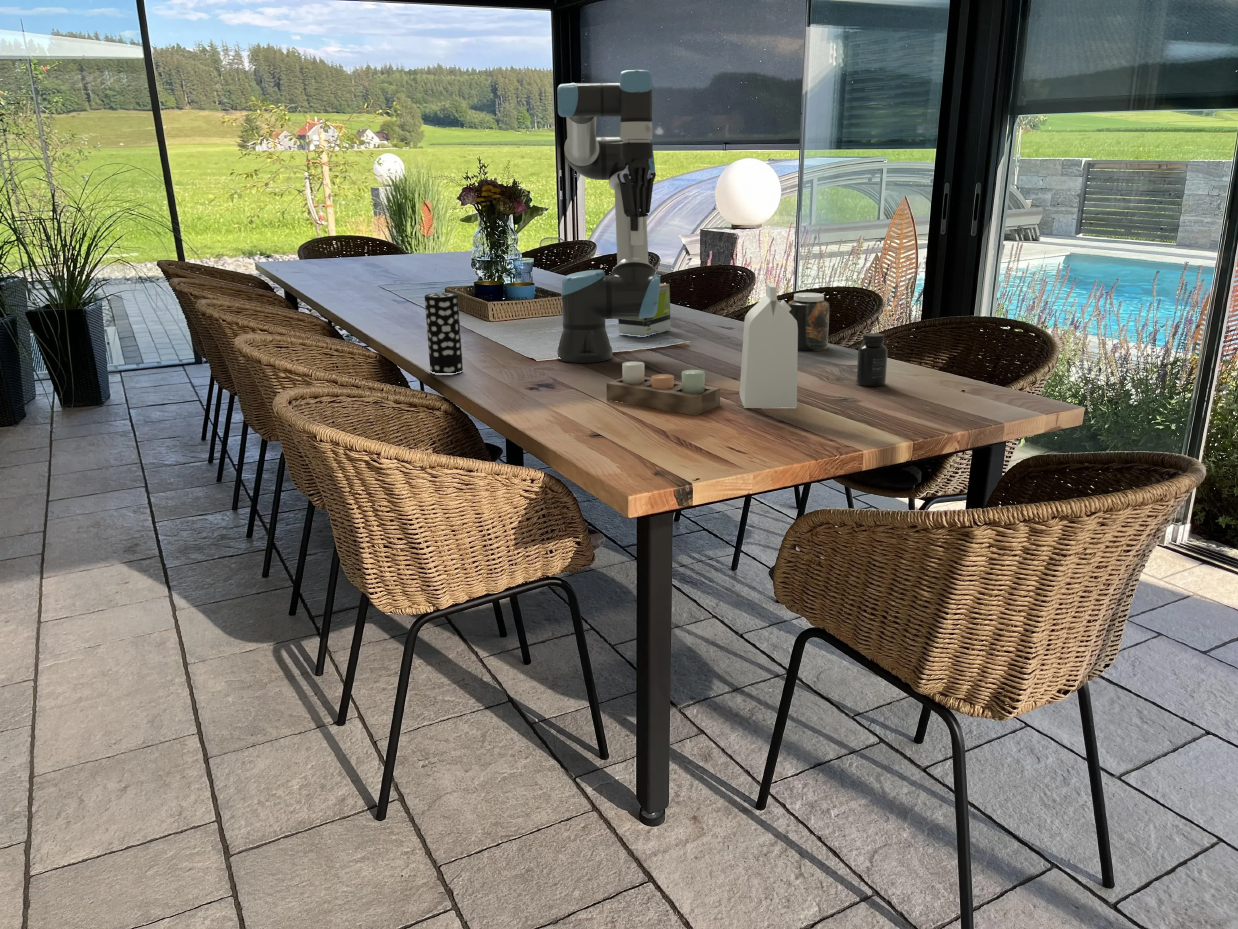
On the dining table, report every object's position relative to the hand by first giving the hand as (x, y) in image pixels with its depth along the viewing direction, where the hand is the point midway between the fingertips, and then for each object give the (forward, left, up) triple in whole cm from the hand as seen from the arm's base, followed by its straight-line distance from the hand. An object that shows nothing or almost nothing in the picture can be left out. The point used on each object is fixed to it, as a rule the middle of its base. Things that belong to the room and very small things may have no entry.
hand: (637, 244), depth 228 cm
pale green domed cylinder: (+28, -19, -29) cm, 45 cm away
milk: (+39, -5, -33) cm, 51 cm away
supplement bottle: (+52, +23, -33) cm, 66 cm away
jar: (+20, +55, -33) cm, 67 cm away
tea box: (-32, +49, -33) cm, 67 cm away
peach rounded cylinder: (+20, -19, -31) cm, 42 cm away
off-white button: (+12, -19, -29) cm, 37 cm away
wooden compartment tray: (+20, -19, -32) cm, 43 cm away
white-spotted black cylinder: (-44, -24, -33) cm, 60 cm away
